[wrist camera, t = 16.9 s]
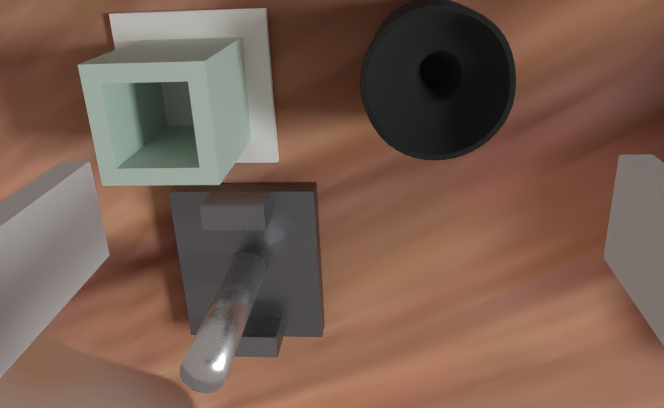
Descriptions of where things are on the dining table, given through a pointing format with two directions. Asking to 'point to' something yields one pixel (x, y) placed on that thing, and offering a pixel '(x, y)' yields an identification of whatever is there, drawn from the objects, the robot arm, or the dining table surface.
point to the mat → (214, 25)
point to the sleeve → (150, 118)
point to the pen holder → (437, 80)
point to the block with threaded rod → (246, 272)
